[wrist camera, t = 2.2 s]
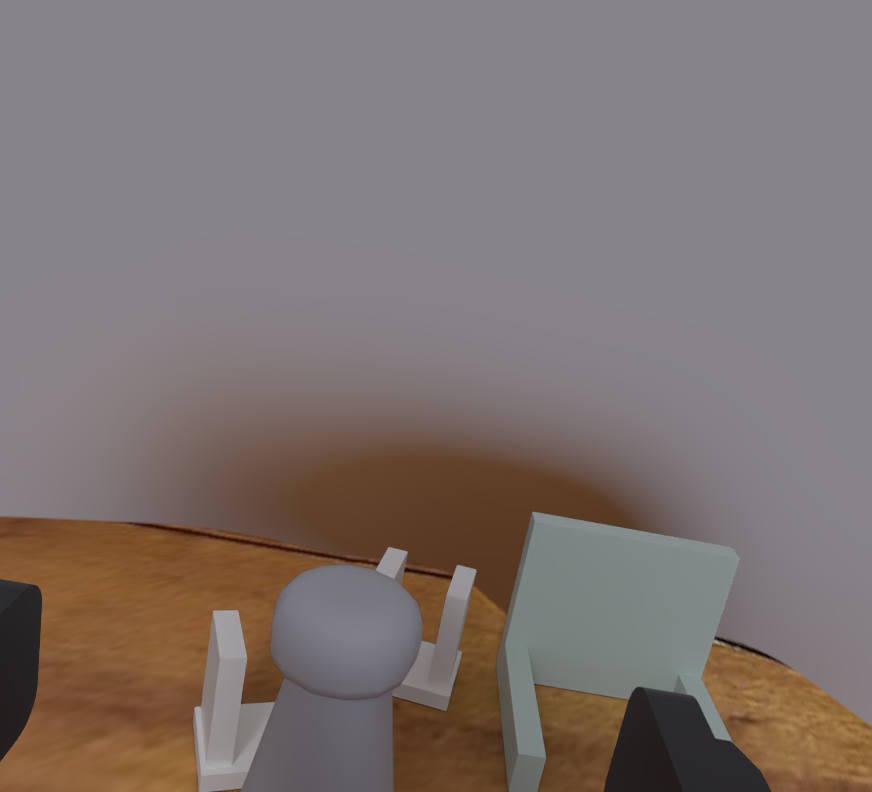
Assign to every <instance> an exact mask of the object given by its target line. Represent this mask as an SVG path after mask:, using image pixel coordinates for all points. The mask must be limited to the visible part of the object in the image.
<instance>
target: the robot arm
mask: <svg viewBox="0 0 872 792" xmlns="http://www.w3.org/2000/svg"><path fill="white" fill-rule="evenodd" d="M41 612H42V595H41V591H40V589H39V587H38V586H36V585H31V584H25V583H19V582H13V581H7V580H1V579H0V762H1V760H2V759H3V758H4V756H5V755H6V754H7V752H8V751H9V750H10V748H11V747H12V746H13V744H14V743H15V742H16V740H17V739H18V737H19V736H20V734H21V733H22V731H23V729H24V727H25V725H26V723H27V721H28V719H29V716H30V714H31V711H32V708H33V705H34V701H35V697H36V692H37V684H38V667H39V648H40V630H41ZM604 792H771V790H770V788H769V786H768V784H767V783H766V781H765V779H764V777H763V775H762V773H761V771H760V770H759V769H758V768H757V767H756V766H755V765H754V764H753V763H752V762H751V761H750V760H749V759H748V758H747V757H746V756H745V755H744V754H743V753H742V752H741V751H740V750H739V749H738V748H737V747H736V746H735V745H734V744H733V743H732V742H731V741H728V740H722V739H716V738H715V737H714V735H713V733H712V730H711V728H710V726H709V724H708V722H707V720H706V718H705V716H704V714H703V711H702V709H701V707H700V705H699V703H698V701H697V700H696V698H695V697H694V696H692V695H687V694H681V693H675V692H669V691H663V690H657V689H651V688H645V687H636V688H635V689H634V690H633V692H632V694H631V696H630V698H629V701H628V705H627V708H626V712H625V715H624V719H623V722H622V726H621V729H620V733H619V736H618V740H617V743H616V747H615V750H614V754H613V757H612V761H611V764H610V768H609V771H608V775H607V779H606V783H605V789H604Z"/></svg>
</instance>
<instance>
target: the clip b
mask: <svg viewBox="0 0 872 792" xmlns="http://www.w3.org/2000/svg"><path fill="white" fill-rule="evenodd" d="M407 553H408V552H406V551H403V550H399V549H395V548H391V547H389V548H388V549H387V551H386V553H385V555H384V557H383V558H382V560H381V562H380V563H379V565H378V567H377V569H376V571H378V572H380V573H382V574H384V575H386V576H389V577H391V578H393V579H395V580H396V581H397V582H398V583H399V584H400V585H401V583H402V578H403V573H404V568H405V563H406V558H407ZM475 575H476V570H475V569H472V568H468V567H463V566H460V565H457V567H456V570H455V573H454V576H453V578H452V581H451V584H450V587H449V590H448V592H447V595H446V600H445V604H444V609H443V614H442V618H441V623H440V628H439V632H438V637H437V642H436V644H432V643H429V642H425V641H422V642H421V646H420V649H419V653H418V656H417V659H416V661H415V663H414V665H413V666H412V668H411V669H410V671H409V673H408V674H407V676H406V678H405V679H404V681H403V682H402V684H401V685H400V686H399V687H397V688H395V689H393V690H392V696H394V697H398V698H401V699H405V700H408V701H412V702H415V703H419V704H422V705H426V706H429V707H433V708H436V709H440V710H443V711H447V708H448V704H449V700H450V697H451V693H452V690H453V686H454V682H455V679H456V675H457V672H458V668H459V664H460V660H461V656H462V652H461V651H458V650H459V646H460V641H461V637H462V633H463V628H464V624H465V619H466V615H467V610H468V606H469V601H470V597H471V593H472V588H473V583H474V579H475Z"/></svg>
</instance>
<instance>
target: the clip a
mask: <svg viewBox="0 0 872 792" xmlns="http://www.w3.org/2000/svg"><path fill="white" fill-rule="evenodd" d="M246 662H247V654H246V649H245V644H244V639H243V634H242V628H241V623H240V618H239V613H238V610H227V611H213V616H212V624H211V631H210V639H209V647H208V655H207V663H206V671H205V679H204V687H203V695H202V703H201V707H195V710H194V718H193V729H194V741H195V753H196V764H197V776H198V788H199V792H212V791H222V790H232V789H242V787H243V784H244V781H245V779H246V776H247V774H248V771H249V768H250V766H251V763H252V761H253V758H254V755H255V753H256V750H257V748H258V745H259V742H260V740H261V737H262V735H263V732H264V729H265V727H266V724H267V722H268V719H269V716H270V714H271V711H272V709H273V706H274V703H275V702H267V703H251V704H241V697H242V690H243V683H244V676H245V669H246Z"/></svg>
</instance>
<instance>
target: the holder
mask: <svg viewBox="0 0 872 792" xmlns="http://www.w3.org/2000/svg"><path fill="white" fill-rule="evenodd" d="M739 560H740V558H739V557H738V555H737V554H736V552H735V551H734V550H733V548H732V547H726V546H721V545H715V544H710V543H704V542H699V541H693V540H687V539H682V538H676V537H671V536H665V535H660V534H654V533H648V532H642V531H637V530H631V529H626V528H620V527H615V526H609V525H604V524H597V523H592V522H586V521H582V520H576V519H570V518H565V517H559V516H553V515H547V514H542V513H537V512H532V515H531V519H530V524H529V528H528V532H527V536H526V540H525V544H524V548H523V553H522V557H521V561H520V565H519V569H518V573H517V578H516V582H515V586H514V590H513V594H512V598H511V603H510V607H509V611H508V615H507V619H506V623H505V627H504V631H503V636H502V640H501V644H500V648H499V652H498V656H497V660H496V672H497V682H498V692H499V702H500V712H501V722H502V733H503V743H504V753H505V763H506V773H507V784H508V792H537V790H538V787H539V783H540V779H541V776H542V772H543V768H544V765H545V761H546V754H545V748H544V742H543V736H542V730H541V724H540V718H539V712H538V706H537V700H536V694H535V688H534V684H539V685H545V686H551V687H557V688H563V689H568V690H574V691H580V692H586V693H592V694H598V695H604V696H609V697H615V698H621V699H627V700H629V698H630V696H631V694H632V692H633V690H634V689H635V688H636V687H645V688H651V689H657V690H663V691H669V692H675V693H681V694H687V695H692V696H694V697H695V698H696V700H697V701H698V703H699V705H700V707H701V709H702V711H703V714H704V716H705V718H706V720H707V722H708V724H709V726H710V728H711V730H712V733H713V735H714V737H715V738H716V739H722V740H728V741H731V742H732V740H731V738H730V736H729V734H728V732H727V730H726V728H725V726H724V724H723V722H722V720H721V718H720V716H719V713H718V711H717V709H716V707H715V705H714V703H713V701H712V699H711V697H710V695H709V693H708V691H707V689H706V687H705V685H704V683H703V681H702V679H701V677H702V674H703V671H704V668H705V665H706V662H707V659H708V656H709V652H710V649H711V646H712V643H713V640H714V637H715V634H716V631H717V628H718V625H719V621H720V619H721V616H722V612H723V609H724V606H725V603H726V600H727V597H728V594H729V591H730V588H731V585H732V582H733V579H734V575H735V572H736V569H737V566H738V563H739ZM732 743H733V742H732Z"/></svg>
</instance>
